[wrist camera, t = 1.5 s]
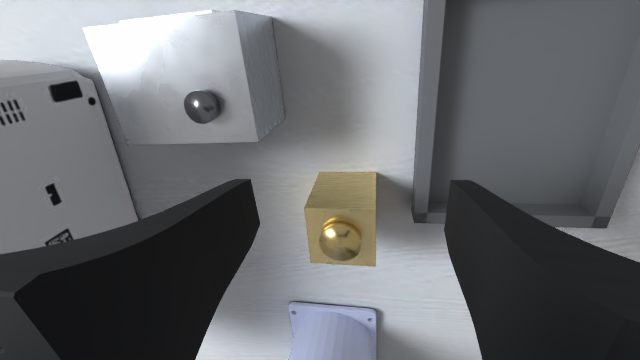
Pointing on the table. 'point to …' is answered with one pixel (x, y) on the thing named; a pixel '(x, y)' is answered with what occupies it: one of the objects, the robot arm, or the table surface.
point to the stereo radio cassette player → (55, 159)
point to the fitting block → (342, 218)
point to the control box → (191, 77)
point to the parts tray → (528, 105)
